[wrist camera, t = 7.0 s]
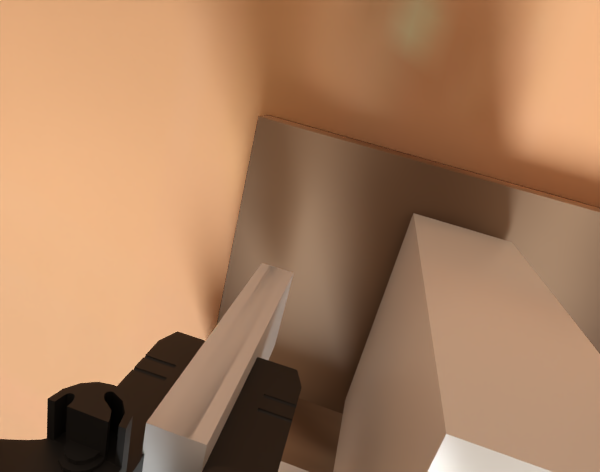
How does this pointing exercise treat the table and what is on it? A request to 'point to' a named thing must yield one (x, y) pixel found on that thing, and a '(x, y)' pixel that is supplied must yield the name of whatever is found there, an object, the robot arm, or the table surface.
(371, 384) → the bookend
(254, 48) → the table surface
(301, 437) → the rack
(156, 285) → the table surface
